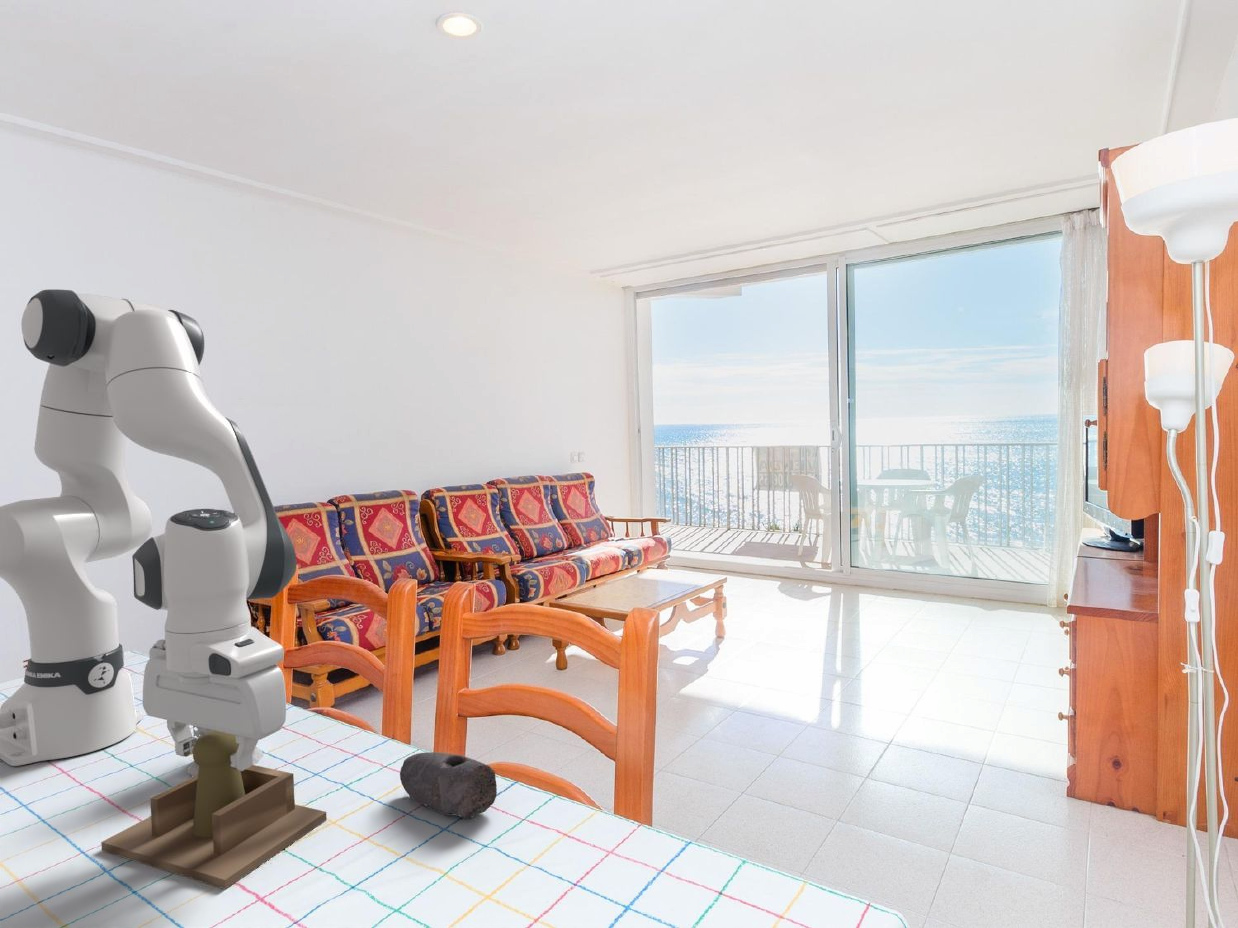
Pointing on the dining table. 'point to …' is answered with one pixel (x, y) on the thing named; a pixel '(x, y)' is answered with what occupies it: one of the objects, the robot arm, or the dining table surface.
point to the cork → (214, 779)
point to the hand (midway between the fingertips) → (213, 760)
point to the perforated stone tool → (449, 783)
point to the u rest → (219, 829)
